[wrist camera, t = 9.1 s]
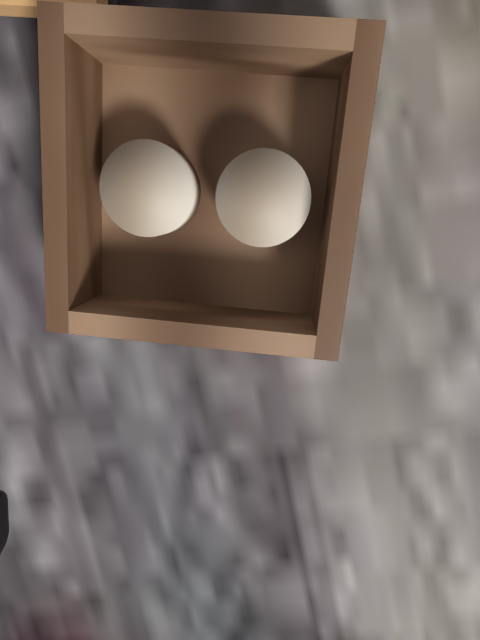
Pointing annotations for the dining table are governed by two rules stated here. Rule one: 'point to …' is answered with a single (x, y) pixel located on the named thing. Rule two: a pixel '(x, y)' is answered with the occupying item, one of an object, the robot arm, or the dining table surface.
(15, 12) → the lid
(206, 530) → the dining table surface
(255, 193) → the walnut box
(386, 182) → the dining table surface
